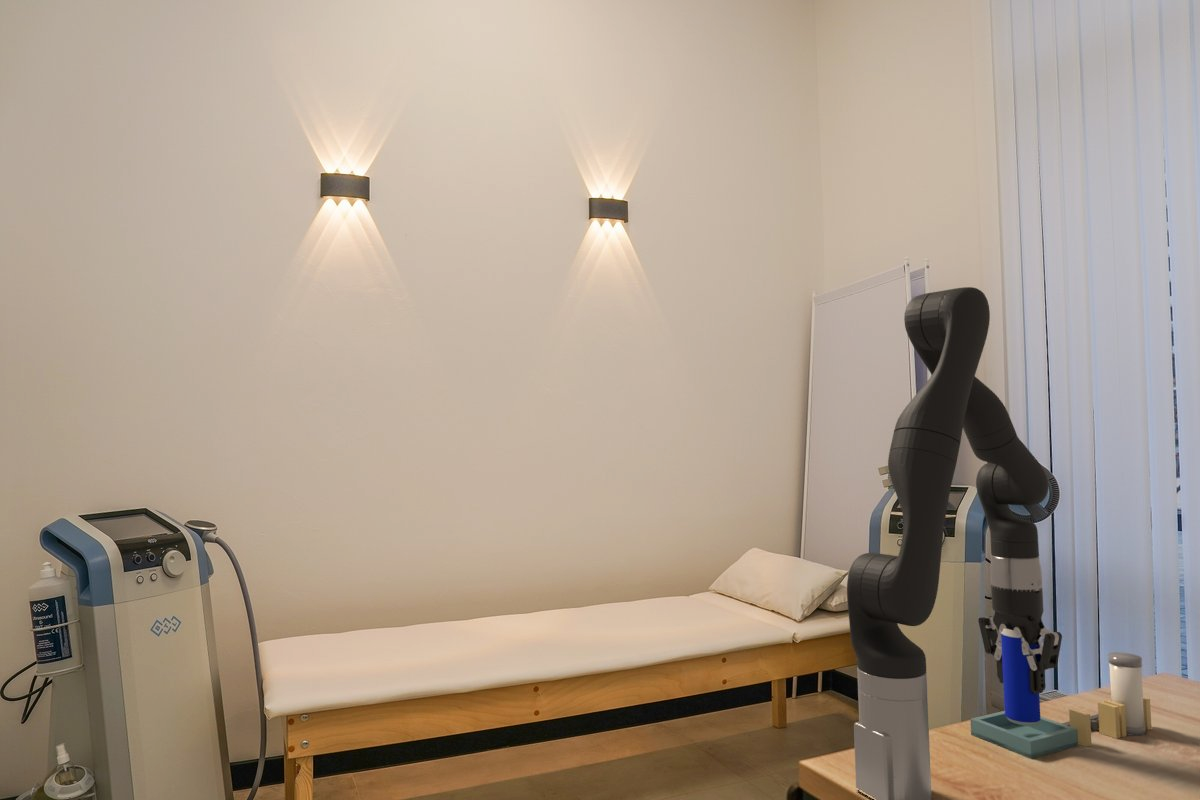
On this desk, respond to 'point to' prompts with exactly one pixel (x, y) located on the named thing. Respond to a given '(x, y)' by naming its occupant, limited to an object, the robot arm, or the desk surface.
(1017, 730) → the tray
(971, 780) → the desk surface
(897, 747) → the robot arm
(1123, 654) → the fuse
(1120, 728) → the fuse block
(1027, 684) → the beverage can
